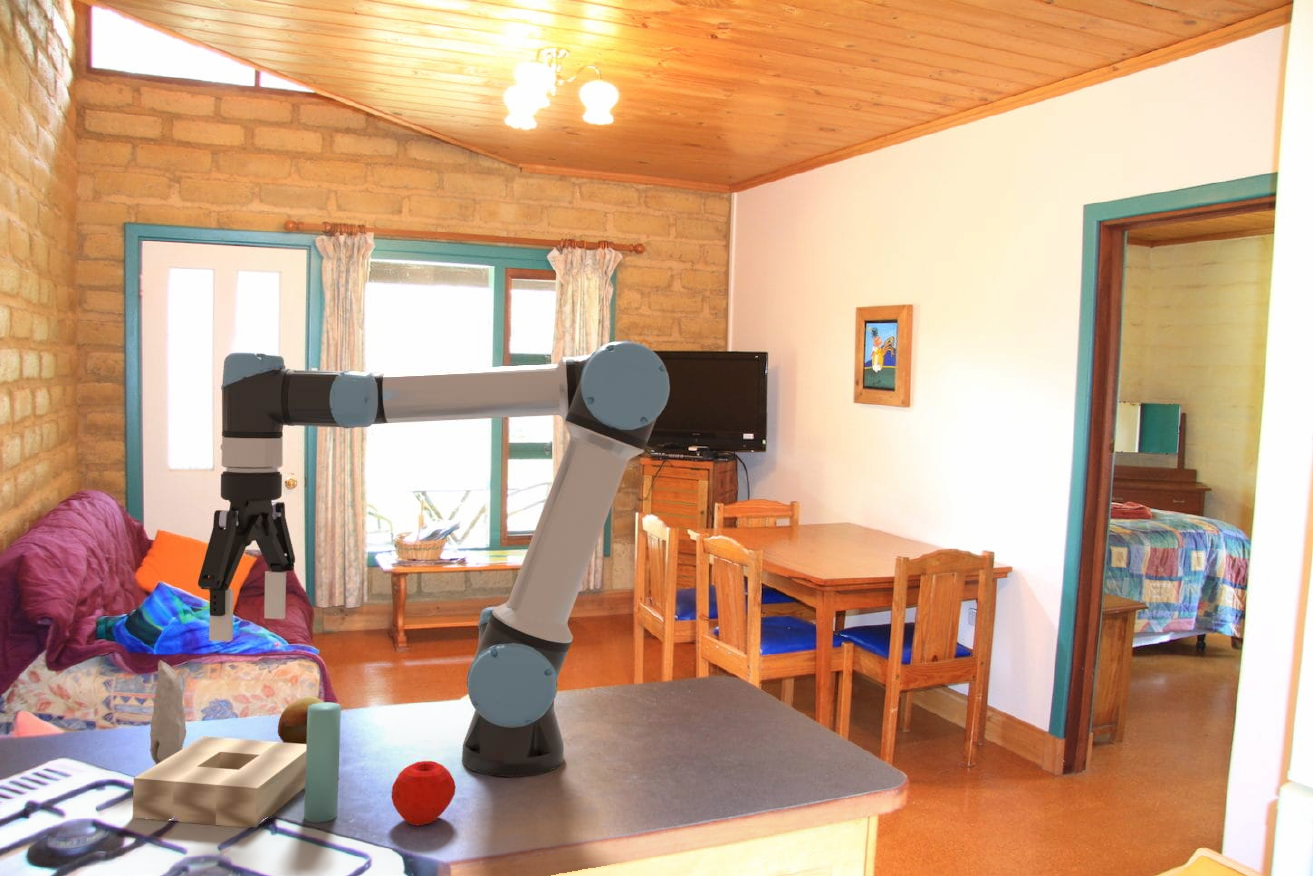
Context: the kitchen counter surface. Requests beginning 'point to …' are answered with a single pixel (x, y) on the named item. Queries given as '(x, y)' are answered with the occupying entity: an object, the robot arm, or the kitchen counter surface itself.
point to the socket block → (221, 782)
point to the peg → (322, 762)
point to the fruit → (296, 721)
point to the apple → (422, 792)
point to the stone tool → (167, 715)
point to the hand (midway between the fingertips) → (249, 629)
